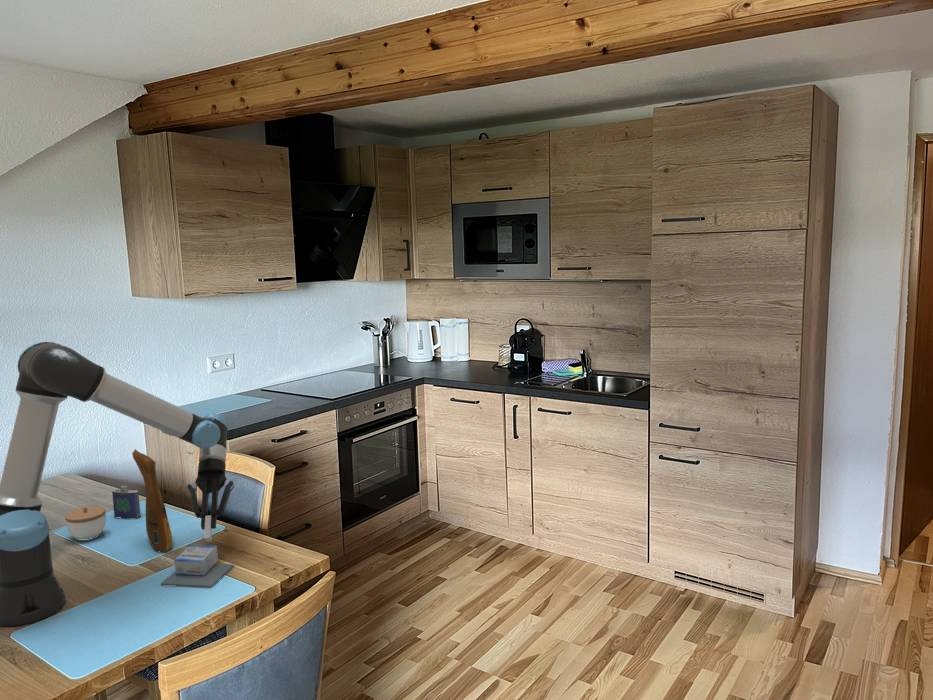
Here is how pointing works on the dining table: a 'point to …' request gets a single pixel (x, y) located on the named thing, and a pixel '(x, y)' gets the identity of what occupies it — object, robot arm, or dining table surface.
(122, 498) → the flask
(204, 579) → the mat
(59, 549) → the dining table surface
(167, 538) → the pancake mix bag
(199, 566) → the medicine box
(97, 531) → the lidded jar
